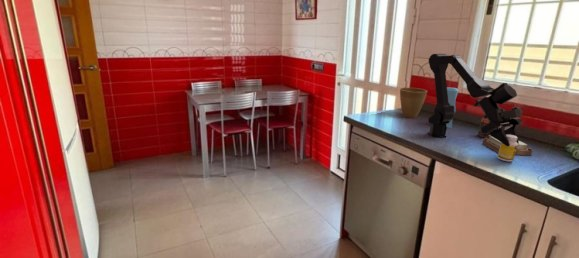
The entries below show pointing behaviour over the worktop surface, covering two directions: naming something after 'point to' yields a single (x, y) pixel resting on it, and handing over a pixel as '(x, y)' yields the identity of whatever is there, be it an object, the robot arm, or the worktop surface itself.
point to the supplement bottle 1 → (483, 122)
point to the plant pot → (412, 101)
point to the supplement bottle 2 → (508, 149)
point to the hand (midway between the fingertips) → (513, 144)
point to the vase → (452, 101)
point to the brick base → (496, 148)
